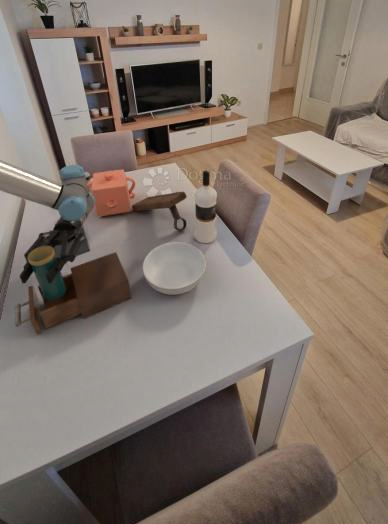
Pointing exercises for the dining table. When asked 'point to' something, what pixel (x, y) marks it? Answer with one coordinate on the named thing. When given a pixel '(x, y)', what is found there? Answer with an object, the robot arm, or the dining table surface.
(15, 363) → the dining table surface
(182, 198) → the bottle opener
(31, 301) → the drawer
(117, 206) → the orange box
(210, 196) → the vodka
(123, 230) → the dining table surface
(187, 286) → the serving bowl
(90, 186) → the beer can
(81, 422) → the dining table surface
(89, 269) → the cabinet
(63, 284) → the tin
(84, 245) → the mat
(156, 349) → the dining table surface
